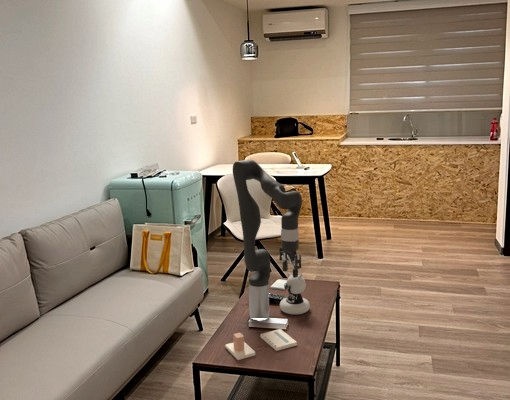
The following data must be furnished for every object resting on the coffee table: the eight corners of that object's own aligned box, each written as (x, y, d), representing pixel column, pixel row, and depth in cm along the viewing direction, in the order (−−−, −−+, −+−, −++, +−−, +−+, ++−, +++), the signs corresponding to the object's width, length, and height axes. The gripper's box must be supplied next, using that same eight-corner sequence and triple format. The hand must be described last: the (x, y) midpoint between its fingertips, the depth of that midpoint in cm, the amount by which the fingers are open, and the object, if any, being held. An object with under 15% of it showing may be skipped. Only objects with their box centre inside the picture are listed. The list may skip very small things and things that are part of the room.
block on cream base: (225, 347, 224) (224, 331, 223) (242, 343, 228) (242, 327, 226) (237, 360, 214) (237, 343, 212) (255, 355, 217) (255, 338, 216)
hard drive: (284, 288, 284) (291, 280, 295) (269, 286, 287) (277, 278, 299) (284, 291, 285) (291, 283, 296) (269, 289, 288) (277, 281, 299)
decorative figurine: (273, 309, 262) (273, 270, 257) (295, 301, 270) (295, 264, 266) (293, 319, 250) (293, 279, 246) (316, 310, 259) (316, 271, 254)
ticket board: (260, 337, 233) (260, 333, 232) (280, 332, 237) (280, 328, 237) (276, 350, 221) (276, 347, 220) (296, 345, 225) (296, 341, 225)
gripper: (273, 235, 230) (274, 270, 234) (291, 243, 218) (291, 280, 221) (288, 232, 233) (289, 267, 237) (306, 240, 221) (306, 277, 225)
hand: (290, 274), depth 229 cm, fingers open, 8 cm apart
